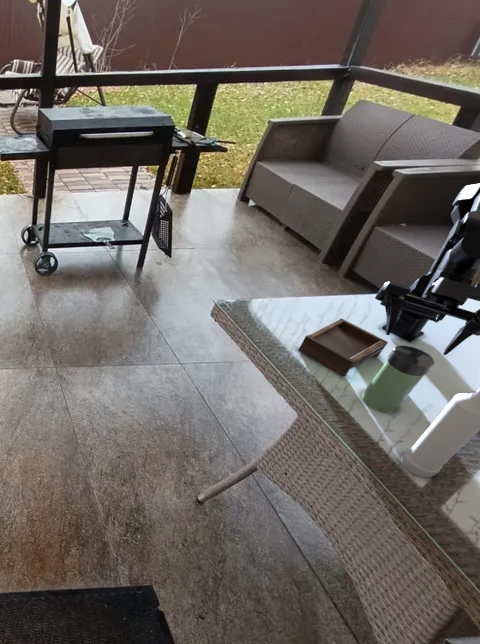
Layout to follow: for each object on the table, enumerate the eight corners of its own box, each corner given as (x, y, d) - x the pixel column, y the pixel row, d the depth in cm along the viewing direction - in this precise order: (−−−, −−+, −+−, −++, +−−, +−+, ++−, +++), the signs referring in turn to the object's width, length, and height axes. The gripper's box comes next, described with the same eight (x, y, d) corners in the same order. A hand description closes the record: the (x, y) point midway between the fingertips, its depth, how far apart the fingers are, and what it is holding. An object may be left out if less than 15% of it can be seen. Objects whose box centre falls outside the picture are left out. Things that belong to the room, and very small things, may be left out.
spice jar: (371, 387, 101) (404, 341, 93) (403, 406, 97) (441, 359, 89) (354, 397, 99) (387, 351, 91) (387, 417, 95) (424, 370, 87)
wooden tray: (332, 332, 116) (341, 318, 114) (378, 356, 109) (388, 342, 106) (297, 350, 111) (305, 336, 108) (343, 377, 104) (352, 362, 101)
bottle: (392, 455, 87) (479, 356, 72) (418, 453, 88) (510, 353, 73) (415, 479, 83) (513, 379, 68) (443, 477, 84) (545, 377, 68)
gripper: (407, 246, 92) (368, 315, 92) (540, 280, 82) (496, 358, 82) (392, 265, 101) (357, 328, 102) (510, 298, 91) (470, 368, 91)
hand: (415, 344), depth 94 cm, fingers open, 9 cm apart
